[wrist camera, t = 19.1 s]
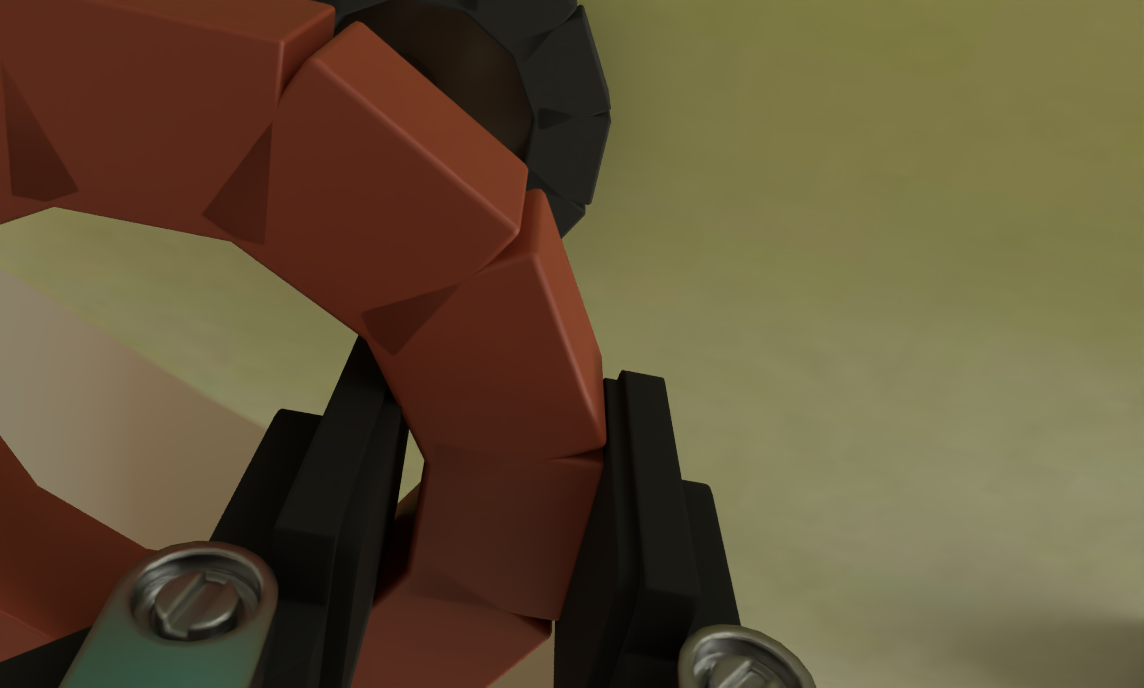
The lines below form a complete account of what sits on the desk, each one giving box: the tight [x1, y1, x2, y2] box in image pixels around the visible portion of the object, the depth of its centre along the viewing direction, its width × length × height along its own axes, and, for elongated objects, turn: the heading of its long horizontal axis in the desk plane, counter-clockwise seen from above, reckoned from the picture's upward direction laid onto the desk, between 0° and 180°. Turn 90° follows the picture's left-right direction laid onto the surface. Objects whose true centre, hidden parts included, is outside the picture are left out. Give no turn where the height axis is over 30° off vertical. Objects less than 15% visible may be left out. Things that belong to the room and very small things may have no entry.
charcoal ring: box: [311, 0, 611, 239], centre depth 24 cm, size 10×10×2 cm
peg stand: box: [333, 0, 533, 160], centre depth 22 cm, size 8×8×9 cm
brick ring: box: [0, 0, 606, 688], centre depth 11 cm, size 10×10×2 cm
